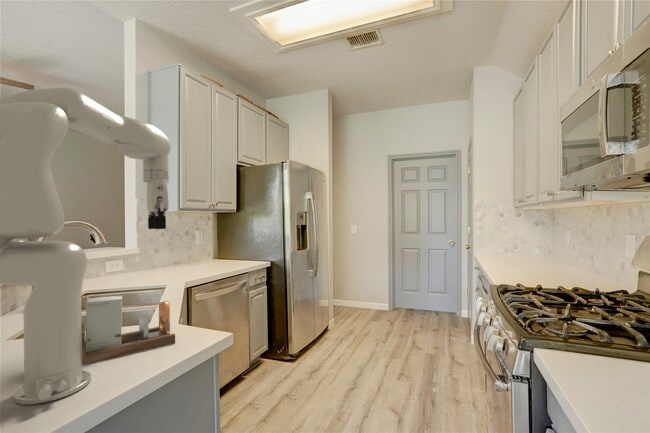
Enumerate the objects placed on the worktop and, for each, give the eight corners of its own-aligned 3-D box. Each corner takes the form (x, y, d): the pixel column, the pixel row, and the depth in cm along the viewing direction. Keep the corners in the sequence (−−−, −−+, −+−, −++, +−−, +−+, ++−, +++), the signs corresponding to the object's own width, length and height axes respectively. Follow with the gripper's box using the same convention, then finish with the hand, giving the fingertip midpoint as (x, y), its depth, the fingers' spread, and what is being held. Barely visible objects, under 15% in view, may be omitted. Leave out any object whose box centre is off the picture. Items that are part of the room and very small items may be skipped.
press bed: (175, 343, 95) (174, 315, 95) (73, 367, 80) (72, 334, 81) (165, 332, 104) (164, 307, 105) (72, 352, 90) (71, 323, 90)
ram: (173, 340, 97) (172, 303, 97) (143, 347, 92) (143, 308, 92) (167, 334, 103) (166, 299, 103) (139, 340, 98) (138, 304, 98)
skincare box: (84, 359, 85) (84, 302, 85) (87, 352, 90) (86, 298, 90) (122, 352, 89) (122, 297, 89) (122, 345, 94) (122, 294, 94)
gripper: (175, 175, 104) (175, 228, 104) (162, 181, 118) (162, 228, 117) (148, 173, 99) (149, 229, 99) (138, 179, 113) (139, 229, 113)
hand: (156, 228), depth 108 cm, fingers open, 9 cm apart
